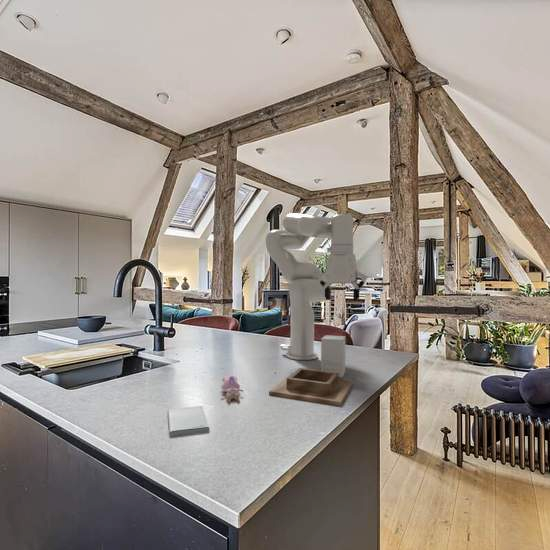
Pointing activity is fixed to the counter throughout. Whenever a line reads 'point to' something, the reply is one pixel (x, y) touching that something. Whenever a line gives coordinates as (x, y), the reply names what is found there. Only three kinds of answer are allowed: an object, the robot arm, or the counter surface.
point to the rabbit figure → (231, 388)
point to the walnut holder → (313, 386)
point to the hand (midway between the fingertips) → (341, 300)
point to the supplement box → (333, 354)
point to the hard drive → (187, 421)
